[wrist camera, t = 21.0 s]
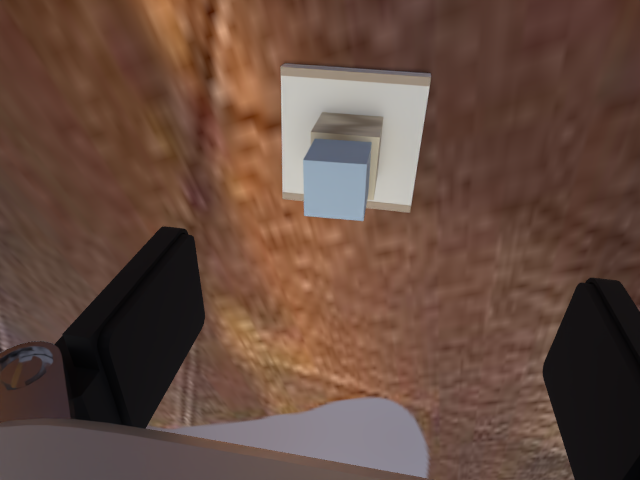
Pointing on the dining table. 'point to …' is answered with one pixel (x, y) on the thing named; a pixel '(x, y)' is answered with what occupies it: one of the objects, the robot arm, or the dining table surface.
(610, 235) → the dining table surface
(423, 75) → the base board
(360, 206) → the blue cube
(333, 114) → the maple cube
